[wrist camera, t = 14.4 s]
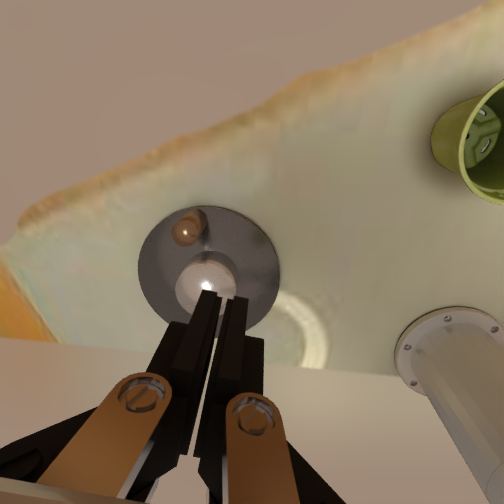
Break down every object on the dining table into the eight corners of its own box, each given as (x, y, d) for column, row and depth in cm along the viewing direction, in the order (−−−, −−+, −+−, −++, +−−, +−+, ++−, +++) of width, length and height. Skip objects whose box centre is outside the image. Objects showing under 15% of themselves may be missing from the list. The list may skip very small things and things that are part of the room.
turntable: (228, 176, 33) (218, 186, 27) (305, 295, 37) (311, 324, 32) (113, 252, 37) (84, 274, 31) (195, 352, 41) (183, 387, 35)
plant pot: (476, 200, 32) (544, 224, 24) (392, 166, 32) (434, 178, 24) (538, 105, 29) (641, 96, 21) (446, 64, 28) (515, 39, 20)
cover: (218, 240, 34) (211, 254, 31) (248, 283, 36) (246, 301, 32) (174, 267, 36) (163, 283, 32) (205, 307, 37) (198, 327, 34)
